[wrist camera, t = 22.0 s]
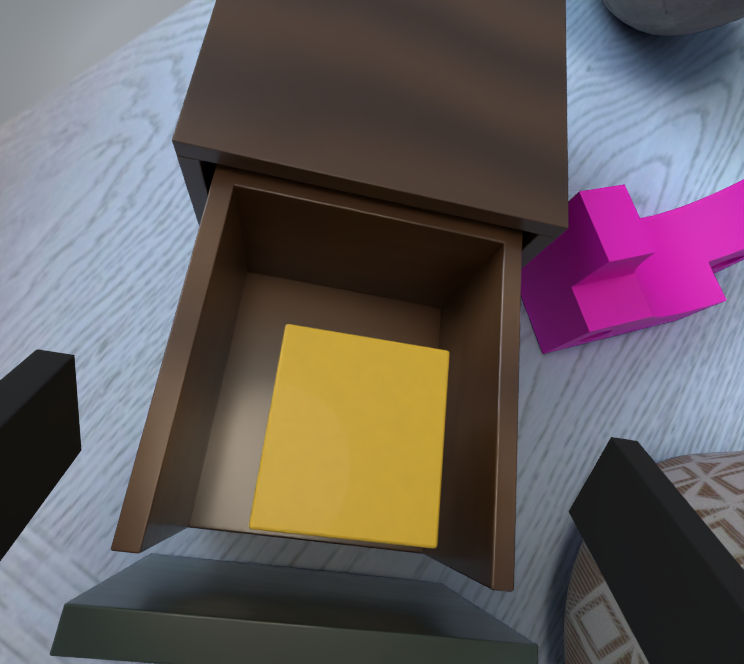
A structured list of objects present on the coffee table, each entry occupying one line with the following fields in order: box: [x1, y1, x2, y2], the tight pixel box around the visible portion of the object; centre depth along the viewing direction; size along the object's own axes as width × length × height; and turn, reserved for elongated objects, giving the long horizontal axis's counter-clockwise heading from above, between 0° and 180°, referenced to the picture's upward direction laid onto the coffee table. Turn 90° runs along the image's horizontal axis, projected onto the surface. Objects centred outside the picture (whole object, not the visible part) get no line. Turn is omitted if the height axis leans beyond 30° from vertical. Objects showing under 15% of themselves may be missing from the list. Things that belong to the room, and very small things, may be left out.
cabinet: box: [172, 0, 568, 269], centre depth 24 cm, size 17×15×11 cm
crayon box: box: [249, 324, 449, 549], centre depth 17 cm, size 4×5×11 cm
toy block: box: [521, 179, 744, 354], centre depth 27 cm, size 15×6×8 cm, turn 106°
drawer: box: [50, 164, 538, 664], centre depth 19 cm, size 20×13×9 cm
